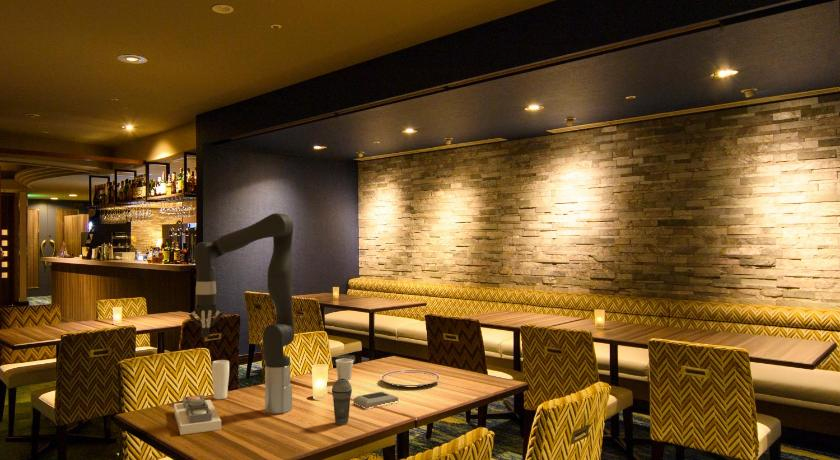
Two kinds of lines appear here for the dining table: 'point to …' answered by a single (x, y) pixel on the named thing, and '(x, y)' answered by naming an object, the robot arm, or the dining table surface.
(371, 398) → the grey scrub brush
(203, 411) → the sage button
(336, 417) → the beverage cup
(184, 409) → the button console
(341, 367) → the dixie cup
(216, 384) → the white tumbler
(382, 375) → the dinner plate
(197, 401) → the slate button
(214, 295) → the robot arm
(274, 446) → the dining table surface
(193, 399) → the terracotta button
